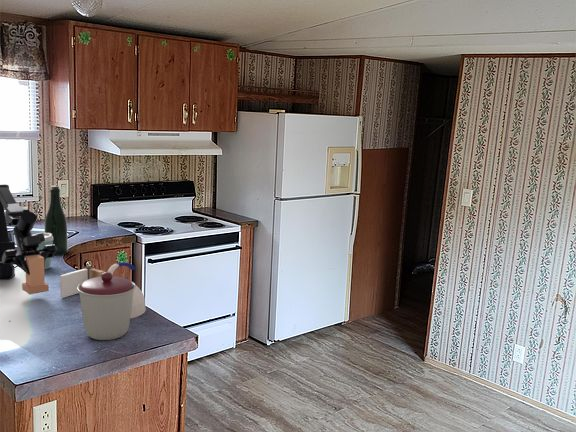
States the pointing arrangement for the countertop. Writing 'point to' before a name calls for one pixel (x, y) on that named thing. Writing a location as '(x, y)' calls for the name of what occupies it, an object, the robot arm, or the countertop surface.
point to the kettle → (138, 297)
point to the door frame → (93, 272)
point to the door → (72, 282)
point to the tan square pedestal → (35, 275)
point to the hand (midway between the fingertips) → (36, 273)
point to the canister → (106, 306)
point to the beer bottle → (57, 222)
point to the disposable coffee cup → (47, 241)
